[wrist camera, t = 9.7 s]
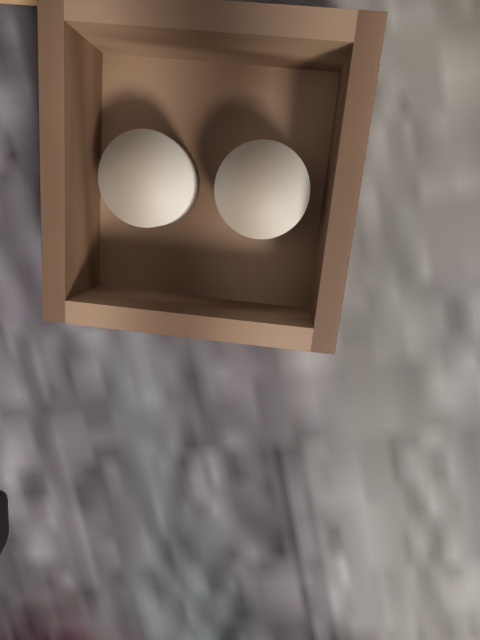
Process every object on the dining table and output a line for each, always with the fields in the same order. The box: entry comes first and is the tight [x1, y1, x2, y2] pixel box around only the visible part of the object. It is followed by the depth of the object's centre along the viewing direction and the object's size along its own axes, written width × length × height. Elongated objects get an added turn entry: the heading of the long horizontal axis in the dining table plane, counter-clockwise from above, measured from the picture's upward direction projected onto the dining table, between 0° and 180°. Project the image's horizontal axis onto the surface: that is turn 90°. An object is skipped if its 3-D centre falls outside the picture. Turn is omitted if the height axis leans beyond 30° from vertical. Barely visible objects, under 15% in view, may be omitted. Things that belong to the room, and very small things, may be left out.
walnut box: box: [37, 0, 388, 354], centre depth 16 cm, size 10×10×4 cm
